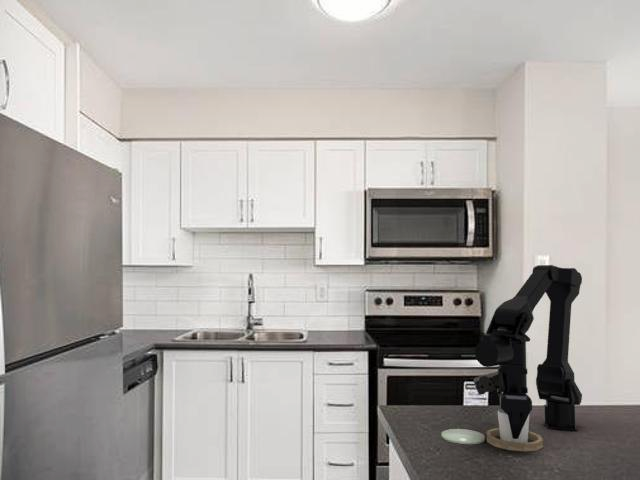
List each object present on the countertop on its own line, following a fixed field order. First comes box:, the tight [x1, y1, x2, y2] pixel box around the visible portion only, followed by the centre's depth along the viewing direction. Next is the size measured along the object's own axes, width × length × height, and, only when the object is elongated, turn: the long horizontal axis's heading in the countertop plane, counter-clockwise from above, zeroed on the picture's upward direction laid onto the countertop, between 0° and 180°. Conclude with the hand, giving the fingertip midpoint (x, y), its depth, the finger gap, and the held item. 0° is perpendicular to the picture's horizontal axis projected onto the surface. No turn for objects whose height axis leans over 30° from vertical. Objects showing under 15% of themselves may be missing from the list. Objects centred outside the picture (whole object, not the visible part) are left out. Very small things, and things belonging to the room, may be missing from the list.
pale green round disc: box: [441, 428, 486, 445], centre depth 120 cm, size 10×10×1 cm
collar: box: [486, 427, 544, 452], centre depth 116 cm, size 12×12×2 cm
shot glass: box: [497, 407, 531, 443], centre depth 117 cm, size 7×7×7 cm
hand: (513, 433), depth 117 cm, fingers open, 8 cm apart
